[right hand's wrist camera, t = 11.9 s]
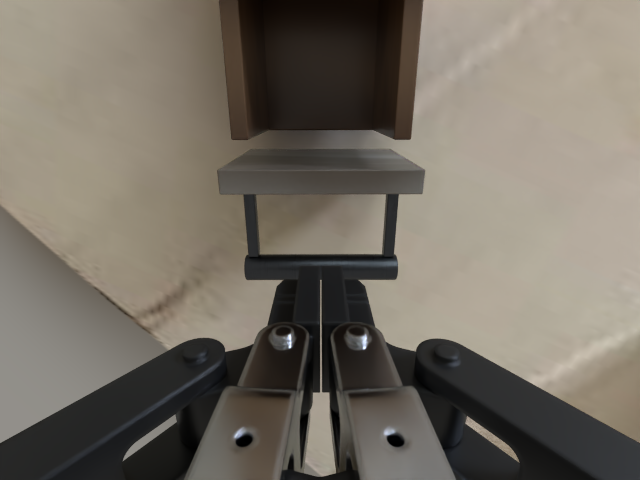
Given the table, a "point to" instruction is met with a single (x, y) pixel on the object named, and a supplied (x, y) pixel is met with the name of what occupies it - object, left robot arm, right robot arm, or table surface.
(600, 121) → the table surface
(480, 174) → the table surface
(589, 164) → the table surface
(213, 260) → the table surface
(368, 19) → the drawer
